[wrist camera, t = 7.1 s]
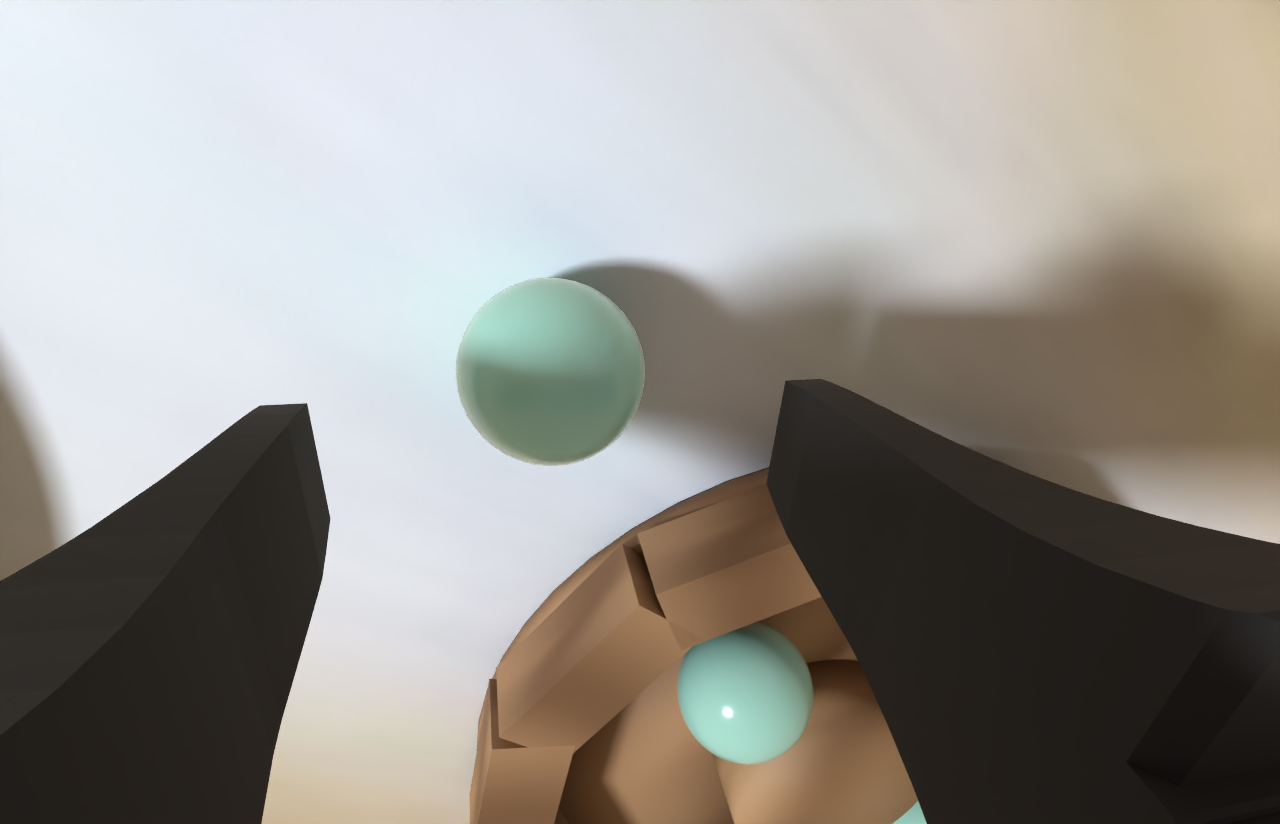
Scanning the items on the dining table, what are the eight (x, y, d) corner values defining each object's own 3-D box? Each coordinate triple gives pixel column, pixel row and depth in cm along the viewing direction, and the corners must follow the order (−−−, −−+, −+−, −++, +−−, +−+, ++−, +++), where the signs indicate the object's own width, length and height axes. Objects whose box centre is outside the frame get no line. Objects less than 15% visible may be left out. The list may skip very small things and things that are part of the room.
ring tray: (1206, 474, 21) (1305, 541, 18) (930, 855, 30) (971, 934, 28) (529, 418, 15) (541, 504, 13) (447, 908, 25) (445, 1013, 22)
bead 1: (642, 265, 14) (686, 337, 11) (608, 412, 16) (640, 508, 13) (465, 239, 13) (466, 311, 10) (449, 398, 15) (445, 498, 12)
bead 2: (746, 570, 18) (802, 676, 15) (799, 636, 20) (858, 741, 17) (638, 640, 19) (673, 757, 16) (700, 699, 20) (742, 812, 18)
